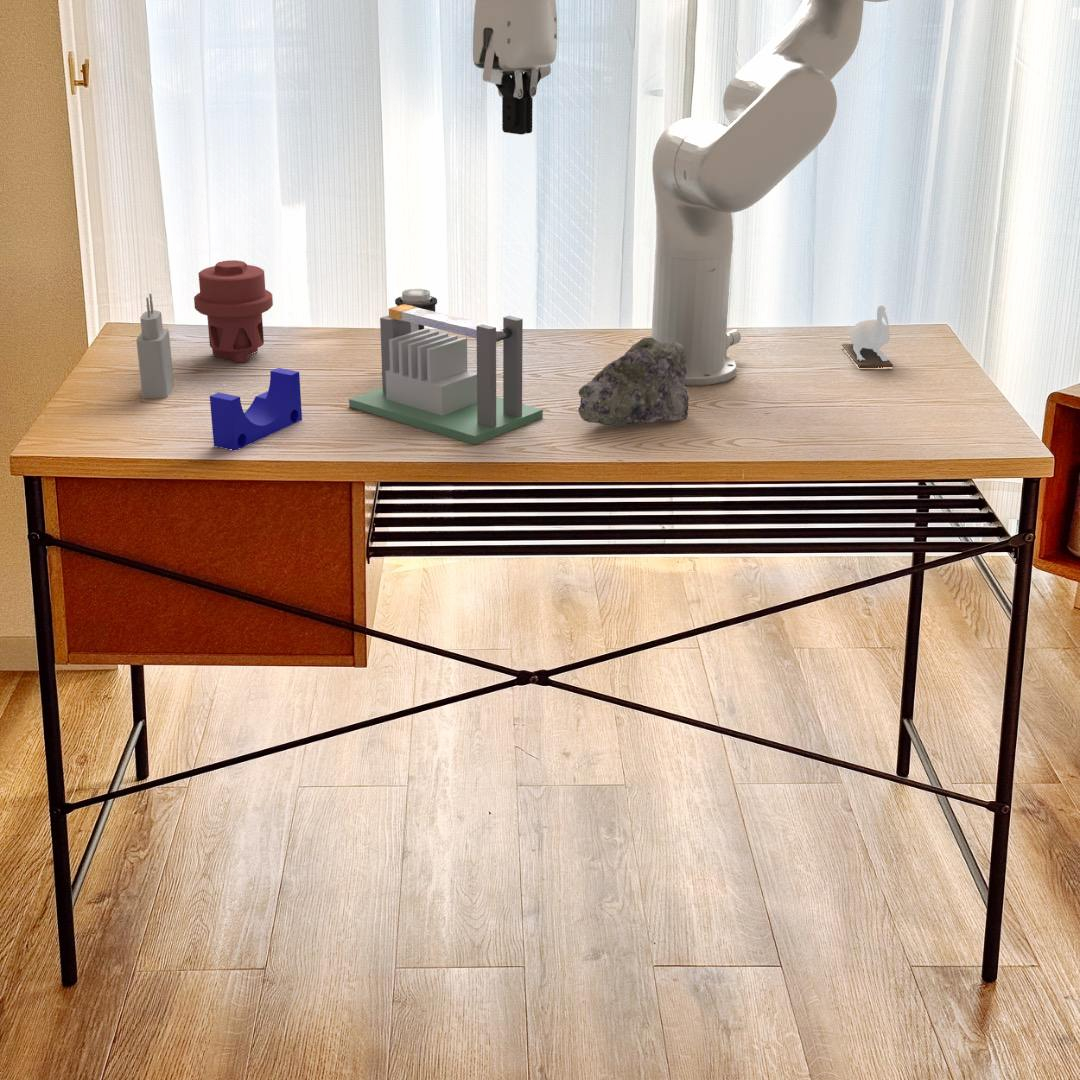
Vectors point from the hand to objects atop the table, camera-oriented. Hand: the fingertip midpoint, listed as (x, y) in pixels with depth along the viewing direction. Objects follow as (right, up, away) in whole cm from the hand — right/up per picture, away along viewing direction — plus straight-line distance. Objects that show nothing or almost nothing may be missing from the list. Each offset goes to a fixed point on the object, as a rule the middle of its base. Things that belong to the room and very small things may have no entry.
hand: (517, 132), depth 169 cm
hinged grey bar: (-8, -23, 0) cm, 24 cm away
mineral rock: (+14, -33, +3) cm, 36 cm away
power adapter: (-44, -29, +11) cm, 54 cm away
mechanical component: (-37, -23, +25) cm, 50 cm away
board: (-9, -32, +5) cm, 33 cm away
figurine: (+46, -24, +25) cm, 58 cm away
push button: (-13, -25, +20) cm, 35 cm away
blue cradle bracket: (-30, -35, -2) cm, 46 cm away
